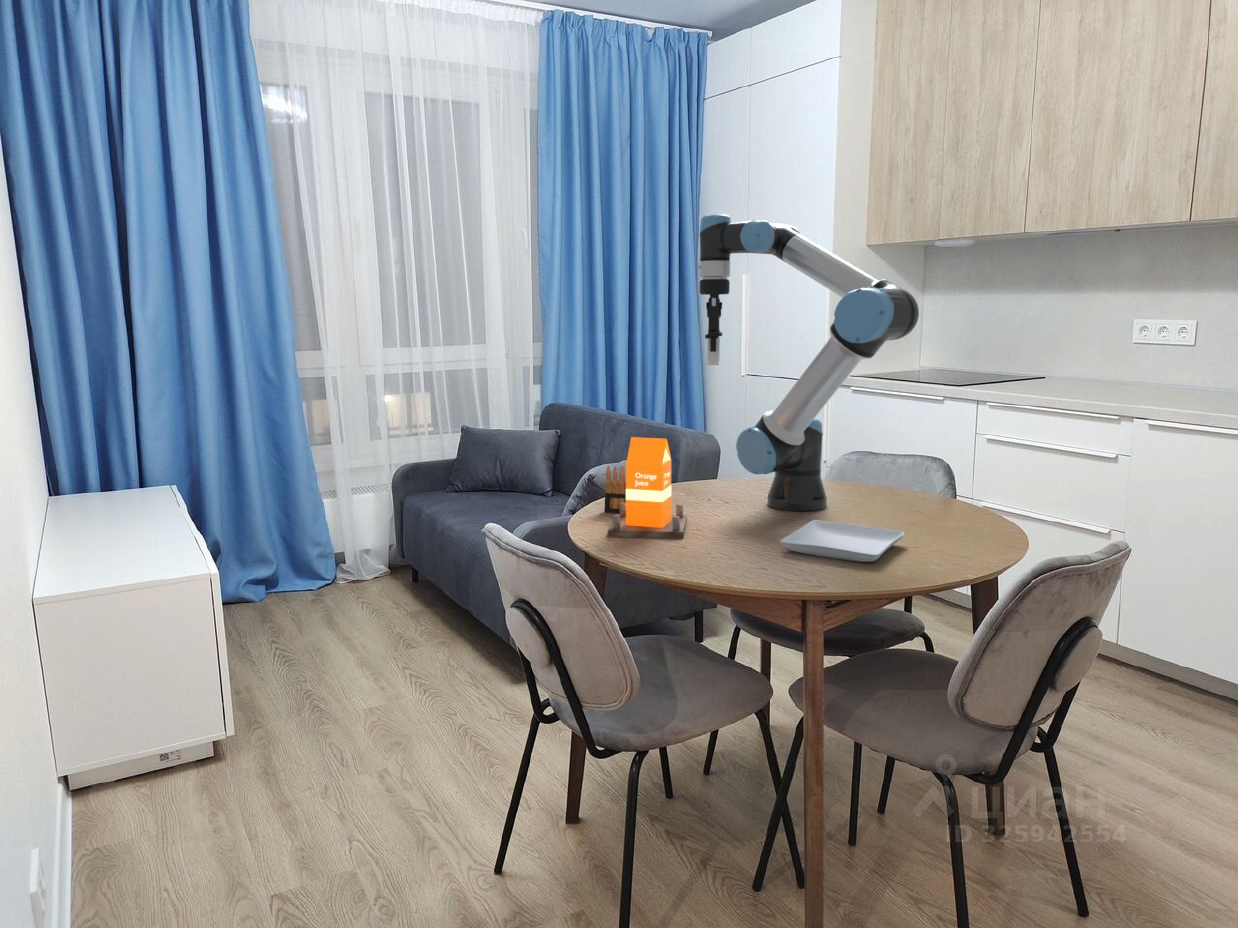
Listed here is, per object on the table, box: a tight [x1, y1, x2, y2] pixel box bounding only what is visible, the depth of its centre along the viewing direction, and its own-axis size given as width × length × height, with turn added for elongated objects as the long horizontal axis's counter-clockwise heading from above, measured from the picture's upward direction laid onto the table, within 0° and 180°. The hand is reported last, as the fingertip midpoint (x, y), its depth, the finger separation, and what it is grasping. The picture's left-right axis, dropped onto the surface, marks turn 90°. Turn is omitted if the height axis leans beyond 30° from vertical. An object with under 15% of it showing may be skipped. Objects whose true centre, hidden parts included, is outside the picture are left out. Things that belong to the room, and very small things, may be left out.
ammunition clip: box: [604, 465, 626, 515], centre depth 228 cm, size 11×2×12 cm, turn 71°
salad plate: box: [779, 519, 906, 563], centre depth 194 cm, size 21×21×3 cm
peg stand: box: [607, 503, 688, 539], centre depth 212 cm, size 17×16×4 cm
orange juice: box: [625, 436, 672, 528], centre depth 211 cm, size 8×9×20 cm
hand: (713, 363), depth 233 cm, fingers open, 13 cm apart
